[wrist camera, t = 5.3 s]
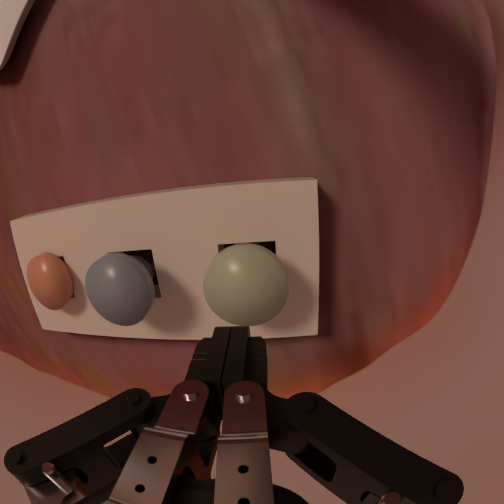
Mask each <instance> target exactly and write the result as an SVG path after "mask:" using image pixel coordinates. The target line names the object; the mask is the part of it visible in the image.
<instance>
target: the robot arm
mask: <svg viewBox="0 0 504 504" xmlns="http://www.w3.org/2000/svg"><path fill="white" fill-rule="evenodd" d="M221 420H223V422H222V423H223V424H222V435H221V436H220V424H221ZM129 430H131V432H132V433H131V434H129V435H127V436H126V437H124V438H122V439H120V440H119V441H117V442H115V443H113V444H112V445H110V446H107V447H104V445H105V444H106V443H108V442H110V441H112V440H114V439H115V438H117V437H119V436H120V435H122V434H124V433H126V432H127V431H129ZM269 448H270V449H274V450H278V451H282V452H286V455H287V456H288V457H289V458H290V459H291V460H292V461H294V462H295V463H296V464H297V465H298V466H299V467H300V468H302V469H303V470H304V471H305V472H307V473H308V474H309V475H310V476H311V477H313V478H314V479H315V480H317V481H318V482H319V483H320V484H322V485H323V486H324V487H325V488H327V489H328V490H329V491H331V492H332V493H333V494H335V495H336V496H338V497H339V498H340V499H341V500H343V501H345V502H346V503H347V504H457V503H458V502H459V501H460V499H461V498H462V495H463V490H464V487H463V482H462V480H461V479H460V478H459V477H458V476H457V475H456V474H454V473H452V472H450V471H448V470H446V469H444V468H442V467H440V466H438V465H436V464H434V463H432V462H430V461H428V460H426V459H424V458H422V457H420V456H418V455H417V454H415V453H413V452H411V451H409V450H407V449H406V448H404V447H402V446H400V445H399V444H397V443H395V442H393V441H392V440H390V439H388V438H386V437H385V436H383V435H381V434H380V433H378V432H376V431H375V430H373V429H371V428H370V427H368V426H366V425H365V424H363V423H362V422H360V421H358V420H357V419H355V418H354V417H352V416H350V415H349V414H347V413H346V412H344V411H343V410H341V409H340V408H338V407H337V406H335V405H333V404H332V403H330V402H329V401H327V400H326V399H324V398H323V397H321V396H320V395H318V394H315V393H312V392H302V393H298V394H295V395H293V396H291V397H290V398H289V399H285V398H280V397H277V396H275V395H273V394H271V393H270V392H269V391H268V390H267V354H266V343H265V341H264V340H263V338H262V337H261V336H255V337H251V336H250V327H249V326H219V327H215V328H214V331H213V335H212V338H203V339H202V340H201V341H200V342H199V343H198V344H197V346H196V349H195V351H194V354H193V357H192V360H191V363H190V366H189V369H188V372H187V375H186V378H185V381H183V382H181V383H179V384H177V385H176V386H175V387H174V388H173V390H172V392H171V394H169V395H165V396H159V397H152V398H151V396H150V394H149V393H148V392H147V391H146V390H144V389H140V388H133V389H129V390H126V391H124V392H122V393H121V394H119V395H117V396H115V397H113V398H111V399H109V400H108V401H106V402H104V403H102V404H100V405H98V406H96V407H94V408H92V409H91V410H89V411H87V412H85V413H83V414H81V415H79V416H77V417H75V418H73V419H71V420H69V421H67V422H65V423H63V424H61V425H59V426H57V427H55V428H53V429H50V430H48V431H46V432H44V433H42V434H40V435H38V436H35V437H33V438H31V439H29V440H27V441H24V442H22V443H20V444H18V445H15V446H13V447H11V448H10V449H9V450H8V451H7V452H6V454H5V457H4V464H5V467H6V468H7V470H8V471H9V472H10V473H11V474H13V475H14V476H15V477H16V478H17V479H18V480H19V481H20V483H22V484H23V486H24V487H25V490H26V492H27V495H28V497H29V500H30V502H31V504H309V503H308V502H307V501H305V500H304V499H303V498H302V497H301V496H299V495H298V494H296V493H294V492H292V491H291V490H289V489H286V488H284V487H281V486H278V485H274V484H272V474H271V463H270V451H269ZM216 451H217V460H216V477H215V479H211V469H212V466H213V462H214V458H215V454H216Z"/></svg>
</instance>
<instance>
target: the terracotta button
mask: <svg viewBox="0 0 504 504" xmlns="http://www.w3.org/2000/svg"><path fill="white" fill-rule="evenodd" d="M27 279H28V283H29V286H30V289H31V291H32V293H33V295H34V296H35V297H36V299H37V300H38V301H39V302H40V303H41V304H42V305H43V306H45V307H46V308H48V309H51V310H59V309H61V308H62V307H63V306H65V305H66V304H67V303H68V302H69V301H70V300H71V298H72V296H73V290H74V287H73V281H72V277H71V274H70V272H69V270H68V268H67V266H66V264H65V260H64V256H59V257H58V256H56V255H55V254H53V253H50V252H43V253H41V254H39V255H37V256H36V257H34V258H32V259H31V260H30V262H29V264H28V267H27Z"/></svg>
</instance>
